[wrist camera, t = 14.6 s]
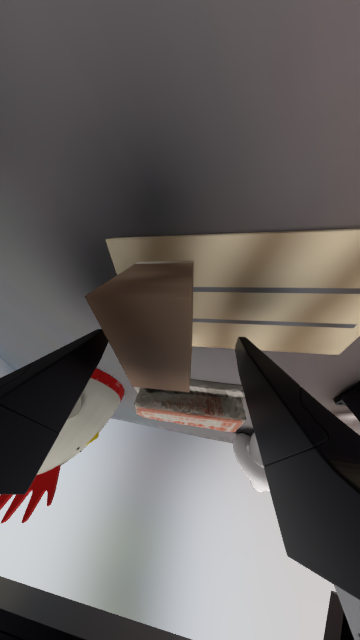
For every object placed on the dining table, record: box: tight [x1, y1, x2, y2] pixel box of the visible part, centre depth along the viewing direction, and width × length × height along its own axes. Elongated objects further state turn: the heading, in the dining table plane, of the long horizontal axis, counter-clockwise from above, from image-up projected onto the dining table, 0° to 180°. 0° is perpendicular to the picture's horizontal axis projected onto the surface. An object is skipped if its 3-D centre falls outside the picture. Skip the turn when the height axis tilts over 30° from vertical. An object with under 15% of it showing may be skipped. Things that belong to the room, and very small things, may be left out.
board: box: [105, 229, 360, 355], centre depth 11 cm, size 20×10×1 cm, turn 93°
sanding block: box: [85, 261, 194, 392], centre depth 9 cm, size 4×7×6 cm, turn 3°
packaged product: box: [134, 379, 246, 432], centre depth 22 cm, size 18×5×10 cm
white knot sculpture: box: [233, 432, 270, 492], centre depth 28 cm, size 11×12×9 cm
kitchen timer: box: [0, 369, 124, 523], centre depth 20 cm, size 14×14×15 cm
